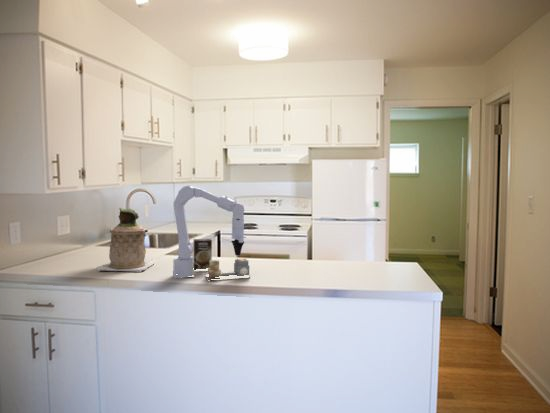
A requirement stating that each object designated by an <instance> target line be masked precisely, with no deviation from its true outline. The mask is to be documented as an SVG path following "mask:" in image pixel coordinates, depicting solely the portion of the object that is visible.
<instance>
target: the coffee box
mask: <svg viewBox="0 0 550 413" xmlns="http://www.w3.org/2000/svg"><path fill="white" fill-rule="evenodd" d="M212 243H213V241H212V239H211V238H199V239H198V238H196V239H195V238H194V239H193V246H192V247H193V252H192V254H193V256H192V257H193V268H194V270H196V269H206V268H210V260H213V259H212V258H213V257H212V256H213V255H212V249H213V247H212V246H213V244H212ZM194 270H193V271H194Z"/></svg>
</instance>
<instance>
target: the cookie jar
mask: <svg viewBox="0 0 550 413" xmlns="http://www.w3.org/2000/svg"><path fill="white" fill-rule="evenodd" d="M118 209H119V215H118V220H119V223H118V224H117V225H116V226H114V227H113V228H110V229H109V233H110V235H111V236H110V245H109V253H108V255H109V257H108V258H109V262H108V263H105V264H102V265H98V266H96V269H97V271H98V272H100V271H108V272H109V271H110V272H131V273H132V272H133V273H142V272H143V271H146V270H147V269H149V268H150V267H152V266H151V265H148V264H150V263H154V262H156V263H157V260H156V259H145V258H146V253H147V252H146V251H147V250H146V244H145V239H146V237H145V234H146V233H145V232H146V229H145V228H144V227H143V226H141V225H139V224H137V222H136V221H137V220H138V219H139V218H140V217H139V214H138V212H135V210H134V209H132V208H122V207H119V208H118ZM148 267H149V268H148Z"/></svg>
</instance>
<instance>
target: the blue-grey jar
mask: <svg viewBox="0 0 550 413" xmlns="http://www.w3.org/2000/svg"><path fill="white" fill-rule="evenodd" d="M239 259H240V258H235V259H234V262H233V271H235V272H236V275H237V276H244V275H249V276H250V264H249V260H248V259H247V258H244V259H245V261H238V260H239Z"/></svg>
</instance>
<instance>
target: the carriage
mask: <svg viewBox="0 0 550 413" xmlns="http://www.w3.org/2000/svg"><path fill="white" fill-rule="evenodd" d="M221 272H222V270H221V269H220V260H219V259H212V260H210V268H208V271H207V274H209V273H210V276H214V275H221Z"/></svg>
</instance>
